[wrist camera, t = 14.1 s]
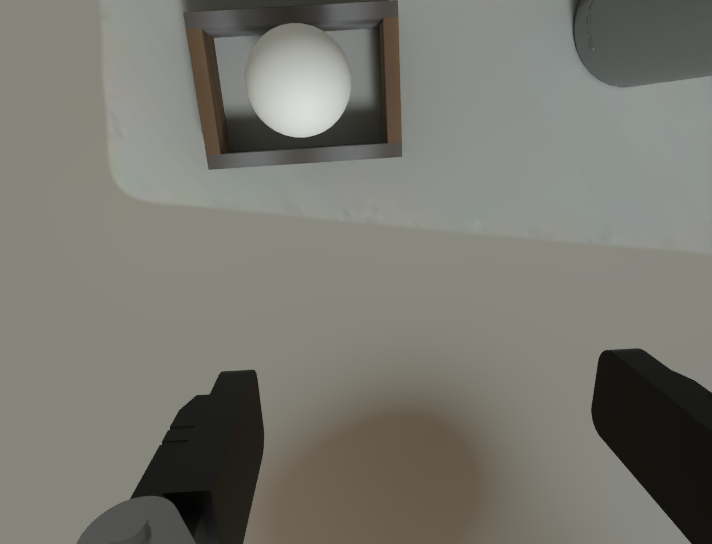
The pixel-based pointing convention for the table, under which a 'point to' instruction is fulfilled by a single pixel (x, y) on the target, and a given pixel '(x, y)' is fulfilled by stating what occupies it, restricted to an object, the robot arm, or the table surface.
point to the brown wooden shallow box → (258, 23)
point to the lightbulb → (298, 80)
